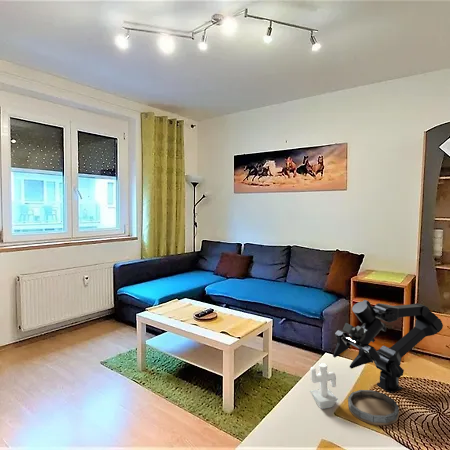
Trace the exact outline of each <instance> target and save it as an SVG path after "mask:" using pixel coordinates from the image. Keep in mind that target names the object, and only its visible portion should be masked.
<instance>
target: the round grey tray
mask: <svg viewBox="0 0 450 450" xmlns="http://www.w3.org/2000/svg"><path fill="white" fill-rule="evenodd" d="M361 396H367V397H375V398H378V399H381V400H384V401H385V402H387V403H389V404H390V405H392V406H393V408H394V410H395V411H394V413H391V414H388V415H386V416H383V415H372V414H369V413H366V412H363V411H361V410H359V409H358V408H357V407H355V406H354V405H353V403H352V401H353V399H355V398H358V397H361ZM347 402H348V404H349V407H350V410H351V411H352V412H353V413H355V414H356V415H357V416H358V417H360V418H362V419H365V420H368V421H371V422H374V423H389V422H391V421H394V420H396V419H397V417H398V414H400V413H399V412H400V411H399V410H400V408H399V407H400V406H399V405H398V404H397V402H396V400H395V399H393V398H392V397H389V396H388V395H387V394H385V393H382V392H379V391H377V390H373V389H360V390H355V391H353V392H351V393H350V394H349V396H348V397H347ZM350 410H349V411H350Z"/></svg>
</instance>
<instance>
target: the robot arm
mask: <svg viewBox="0 0 450 450" xmlns="http://www.w3.org/2000/svg"><path fill="white" fill-rule="evenodd" d="M352 312H353V313H354V315H355V316H356V317H357V320H359V321H360V322H361V324H362V325H357V326H354V325H351V324H349V323H347V322H345V323H344V326H343V328H342V329H338V330H337V331H336V332H335V333H334V334H335V338H336V340H337V341H336V342H337V343H336V346H335V349H334V351H333V354H332V357H333V358H337V357H339V356H340V355H341V354H342V353H344V352H346V351H347V350H348V349H349V347H350V346H353V347H355V348H357V349H358V353H357V355H356V357H355V358H354V359H353V360H352V362H351V363H350V365H349V368H350V369H355V368H357V367H360V366H363V365H366V364H374V365H375V367H376V369H378V370H380V373H379V382H378V383H376V385H377V386H378V387H380V388H381V389H383V390H385V391H386V392H388V393H394V392H397V391H401V390H402V389H403V387H402V386H400V384H399V381H400V380H399V379H400V378H401V377H402V376H403V375H404V371H405V370H404V369H403V367H401V364H402V358H403V357H405V355H407V354H408V353H409V352H410V351H411V350H412V349H413V348H414V347H415V346H417V345H418V344H419V343H420V342H422V340H423V339H424V338H426V337H430V336H431V337H432V336H435V335H436V334H438V333H439V332H441V331H442V330H443V327H444V324H443V322H442V320H441V318H439V317H438V316H437V315H436V314H435V313H434V312H432V311H431V310H430V309H429V307H427V305H425V304H421V303H420V304H419V303H413V304H412V303H411V304H400V305H399V304H398V305H391V304H386V303H379V302H378V303H376V304H375V305H371V303H370V301H369V300H366V299H363V300H362V301H359V302H357V303H354V305H353V306H352ZM409 317H414V319H415V323H414V327H413V328H412V329H410V330H409V331H408V332H407V333H406V334H405V335H403V337H401V338H400V339H399V340H397V341H396V342H395V343H394V344H393V345H392V346H390V347H388V346H386V345H381V347H380V348H379V349H378V350H377V349H376V348H375V347H374V346H372V345H370V343H371V342H372V343H375V342H376V339H375V337H376V336H377V335H378V334H379V333H380V331H382V332H387V325H386V323H384V322H387V323H393V322H395V321H398V320H399V319H400V318H409ZM382 321H384V322H382Z"/></svg>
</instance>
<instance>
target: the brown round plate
mask: <svg viewBox="0 0 450 450" xmlns="http://www.w3.org/2000/svg"><path fill="white" fill-rule="evenodd" d="M352 403H353V405H354V406H355V407H357V408H358V409H359V410H361V411H363V412H366V413H369V414H372V415H383V416H386V415H388V414H391V413H394V411H395V410H394V408H393V406H392V405H390V404H389V403H387V402H385V401H384V400H381V399H378V398H375V397H367V396H361V397H358V398H355V399H353V401H352ZM348 410H349V412H350V413H351V414H352V416H353V417H355V418H356V419H357V420H359V421H362V422H364V423H366V424H369V425H373V426H391V425H394V424H395V423H397V421H399V417H400V416H399V414H400V413H399V414H398V417H397V419H396V420H394V421H391V422H389V423H374V422H371V421H368V420H365V419H362V418H360V417H358V416H357V415H356V414H355V413H353V412H352V411H351V410H350V407H349V404H348Z"/></svg>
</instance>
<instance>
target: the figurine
mask: <svg viewBox="0 0 450 450" xmlns="http://www.w3.org/2000/svg"><path fill="white" fill-rule="evenodd" d="M318 371H319V372H318V373H317V370H316V367H314V366H311V367H310V380H311V382H312V383H314V384H316V383H317V384H318V383H319V389H312V390H310V391H309V392H310V394H311V396H312V398H313V400H314V402H315V403H316V404H317V406H318V407H319V408H320V409H321V410H324V409H328V408H329V409H330V408H333V407H334V406H335V404H336V403H337V401H338V399H339V398H338V396H336V395H335V394H334V393H333V392H332V391H331V390H330V389H329V388H328V381H330V386H331V387H332V388H336V387H337V378H336V373H335V372H334V371H329V372H328V365H327V363H325V362H319V363H318Z"/></svg>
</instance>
